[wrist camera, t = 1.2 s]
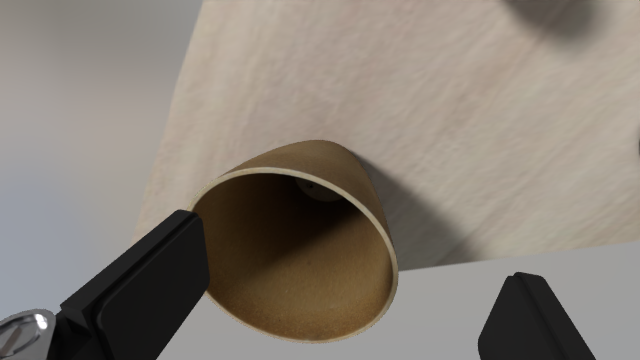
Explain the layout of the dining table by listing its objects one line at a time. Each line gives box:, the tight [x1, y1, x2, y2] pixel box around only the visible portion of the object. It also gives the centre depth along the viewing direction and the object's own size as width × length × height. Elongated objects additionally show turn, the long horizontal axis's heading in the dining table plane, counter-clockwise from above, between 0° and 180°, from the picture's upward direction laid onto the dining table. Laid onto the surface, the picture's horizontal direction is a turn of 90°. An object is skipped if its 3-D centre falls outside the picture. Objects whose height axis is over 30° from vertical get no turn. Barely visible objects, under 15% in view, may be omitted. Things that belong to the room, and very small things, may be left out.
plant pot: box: [186, 140, 398, 344], centre depth 27 cm, size 15×15×16 cm
